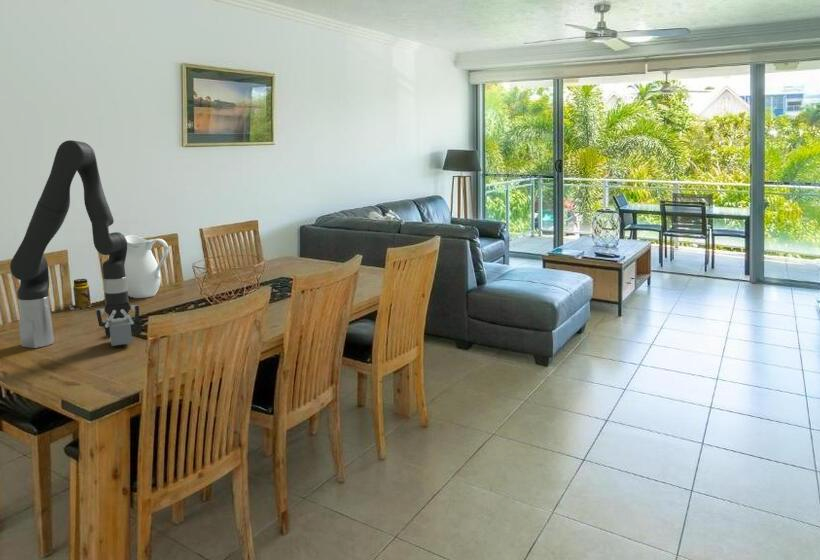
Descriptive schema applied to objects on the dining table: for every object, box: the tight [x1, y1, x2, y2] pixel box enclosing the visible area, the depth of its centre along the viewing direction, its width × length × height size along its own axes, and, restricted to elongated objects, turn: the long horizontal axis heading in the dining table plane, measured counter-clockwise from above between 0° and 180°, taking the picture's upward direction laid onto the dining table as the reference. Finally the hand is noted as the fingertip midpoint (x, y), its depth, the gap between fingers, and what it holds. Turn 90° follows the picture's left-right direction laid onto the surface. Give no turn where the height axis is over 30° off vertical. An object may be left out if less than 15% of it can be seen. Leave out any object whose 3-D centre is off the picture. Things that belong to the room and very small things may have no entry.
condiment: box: [68, 278, 93, 311], centre depth 269 cm, size 7×8×12 cm
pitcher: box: [124, 234, 170, 299], centre depth 287 cm, size 24×17×28 cm
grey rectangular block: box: [109, 317, 133, 346], centre depth 221 cm, size 11×7×7 cm, turn 29°
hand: (120, 335), depth 221 cm, fingers closed on grey rectangular block, 6 cm apart
